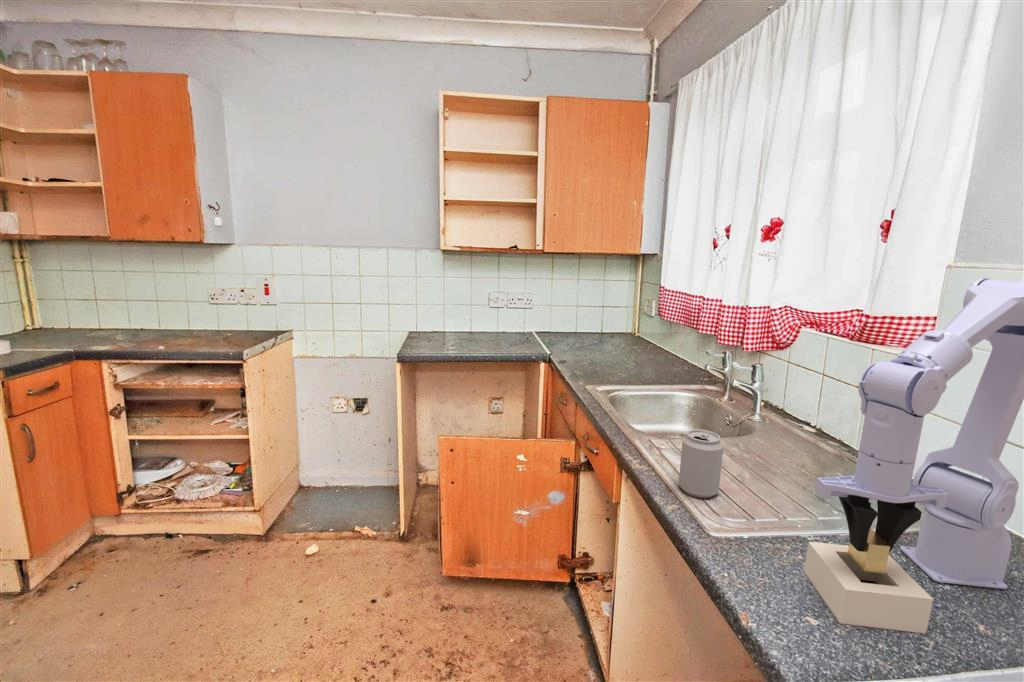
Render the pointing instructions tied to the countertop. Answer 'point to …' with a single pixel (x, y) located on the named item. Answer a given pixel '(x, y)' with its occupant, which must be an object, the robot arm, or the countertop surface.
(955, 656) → the countertop surface
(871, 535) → the block
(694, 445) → the can
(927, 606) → the box
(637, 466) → the countertop surface
